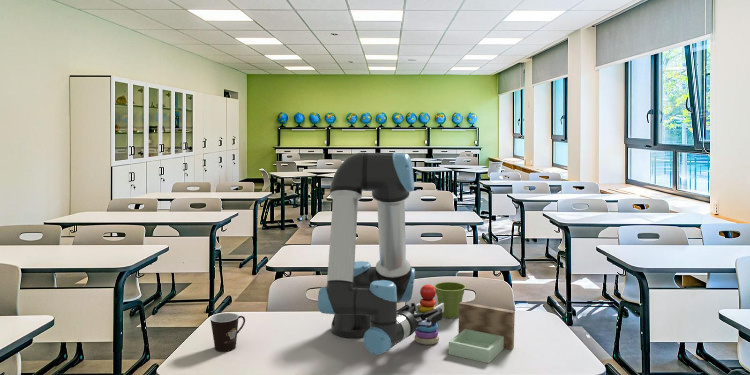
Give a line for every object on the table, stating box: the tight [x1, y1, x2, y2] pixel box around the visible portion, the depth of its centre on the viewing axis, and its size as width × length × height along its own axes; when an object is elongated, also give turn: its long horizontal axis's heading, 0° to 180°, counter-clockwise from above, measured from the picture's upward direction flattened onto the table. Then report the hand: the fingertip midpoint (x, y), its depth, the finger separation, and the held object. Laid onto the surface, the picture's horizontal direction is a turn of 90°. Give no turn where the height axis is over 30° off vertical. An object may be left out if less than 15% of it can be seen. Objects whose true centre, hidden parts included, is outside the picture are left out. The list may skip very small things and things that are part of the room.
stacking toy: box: [413, 283, 440, 346], centre depth 185 cm, size 8×8×19 cm
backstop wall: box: [457, 301, 516, 350], centre depth 183 cm, size 18×2×12 cm, turn 59°
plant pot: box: [433, 281, 467, 319], centre depth 210 cm, size 12×12×11 cm
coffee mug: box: [210, 312, 246, 353], centre depth 180 cm, size 12×9×10 cm
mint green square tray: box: [448, 329, 505, 364], centre depth 177 cm, size 13×13×4 cm
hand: (434, 305), depth 189 cm, fingers closed on stacking toy, 6 cm apart
